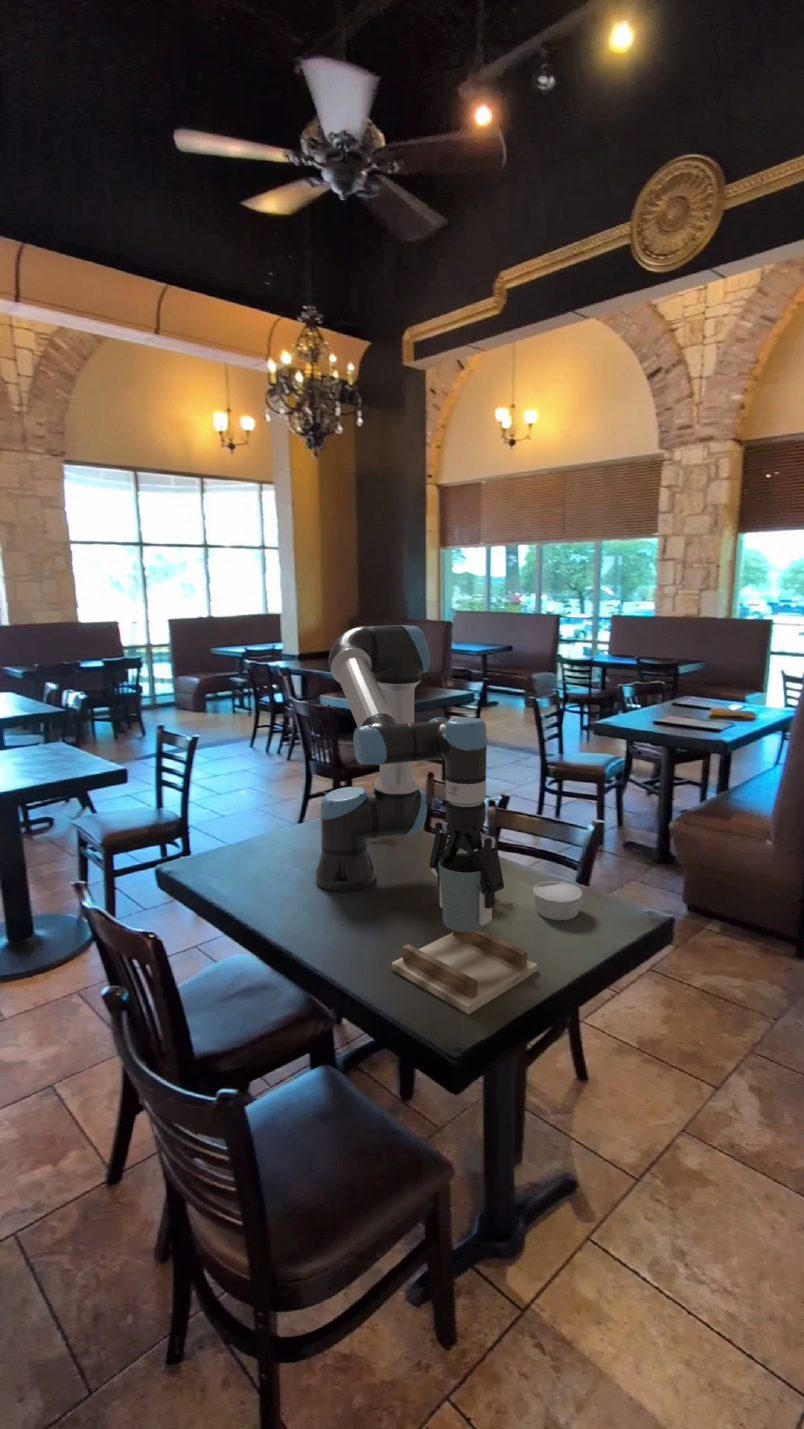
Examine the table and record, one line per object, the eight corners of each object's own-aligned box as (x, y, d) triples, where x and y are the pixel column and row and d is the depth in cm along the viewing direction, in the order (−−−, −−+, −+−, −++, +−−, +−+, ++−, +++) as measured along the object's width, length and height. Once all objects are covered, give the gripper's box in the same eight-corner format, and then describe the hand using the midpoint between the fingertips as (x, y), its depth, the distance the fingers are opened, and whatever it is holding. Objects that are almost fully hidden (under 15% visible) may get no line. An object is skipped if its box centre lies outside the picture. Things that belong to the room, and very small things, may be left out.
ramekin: (559, 897, 167) (560, 876, 166) (592, 916, 157) (593, 894, 156) (522, 907, 162) (522, 886, 161) (554, 928, 152) (554, 905, 151)
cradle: (391, 969, 136) (391, 948, 135) (460, 934, 149) (460, 915, 148) (468, 1014, 121) (468, 991, 120) (537, 971, 135) (537, 950, 134)
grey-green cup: (459, 939, 126) (459, 877, 124) (427, 917, 135) (427, 859, 133) (502, 924, 131) (502, 864, 129) (469, 904, 140) (469, 848, 138)
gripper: (410, 793, 134) (411, 901, 138) (499, 819, 118) (497, 940, 122) (437, 785, 139) (437, 890, 143) (526, 809, 123) (523, 926, 127)
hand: (465, 913), depth 133 cm, fingers closed on grey-green cup, 9 cm apart
